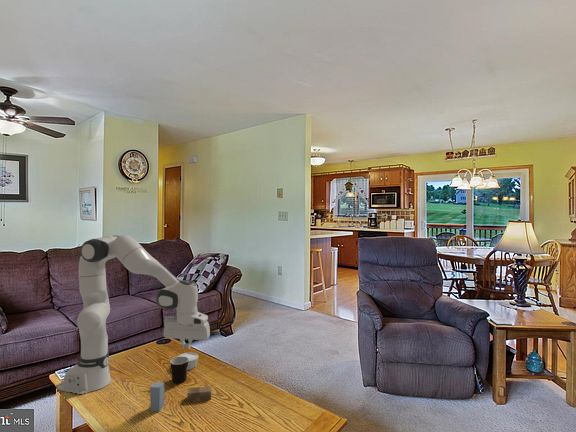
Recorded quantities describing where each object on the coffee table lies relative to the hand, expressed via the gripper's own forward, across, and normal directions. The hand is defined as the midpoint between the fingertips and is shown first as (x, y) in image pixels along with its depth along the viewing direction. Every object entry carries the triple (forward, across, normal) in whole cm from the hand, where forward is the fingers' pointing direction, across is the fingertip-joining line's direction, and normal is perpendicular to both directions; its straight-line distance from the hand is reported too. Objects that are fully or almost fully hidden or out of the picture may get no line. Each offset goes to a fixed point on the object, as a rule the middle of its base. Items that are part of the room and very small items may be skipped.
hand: (186, 348), depth 144 cm
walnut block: (+21, +1, -1) cm, 21 cm away
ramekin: (+23, -11, +29) cm, 38 cm away
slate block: (+23, -9, -8) cm, 26 cm away
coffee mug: (+23, -9, +16) cm, 29 cm away
